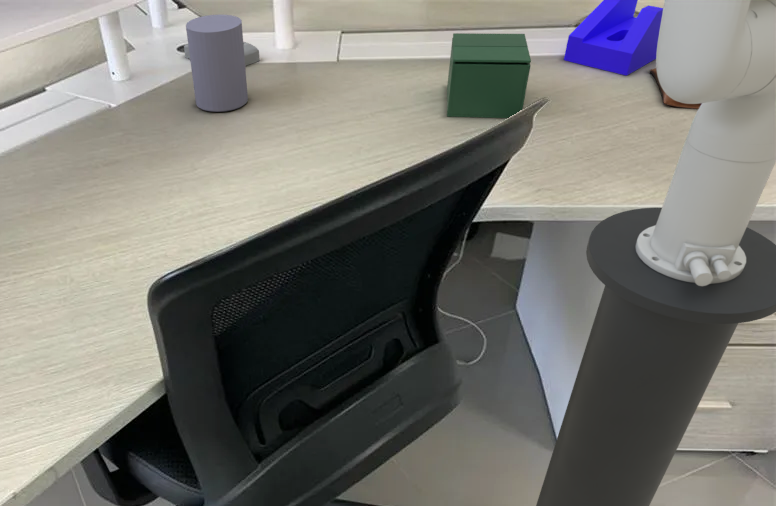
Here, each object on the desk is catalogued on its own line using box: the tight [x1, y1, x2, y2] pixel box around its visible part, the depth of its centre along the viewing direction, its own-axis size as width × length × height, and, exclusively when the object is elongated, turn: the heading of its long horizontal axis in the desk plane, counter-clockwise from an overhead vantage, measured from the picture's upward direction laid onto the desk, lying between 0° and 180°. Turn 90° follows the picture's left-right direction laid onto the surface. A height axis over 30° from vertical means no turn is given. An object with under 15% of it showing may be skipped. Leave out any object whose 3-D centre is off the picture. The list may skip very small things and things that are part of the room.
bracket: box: [563, 0, 663, 76], centre depth 144 cm, size 21×14×10 cm, turn 132°
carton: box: [446, 32, 531, 119], centre depth 129 cm, size 14×13×10 cm
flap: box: [453, 46, 532, 64], centre depth 123 cm, size 7×13×1 cm, turn 79°
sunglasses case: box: [649, 67, 702, 110], centre depth 131 cm, size 18×7×7 cm
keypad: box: [183, 41, 261, 67], centre depth 156 cm, size 10×4×15 cm
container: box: [185, 14, 249, 113], centre depth 134 cm, size 10×10×15 cm
